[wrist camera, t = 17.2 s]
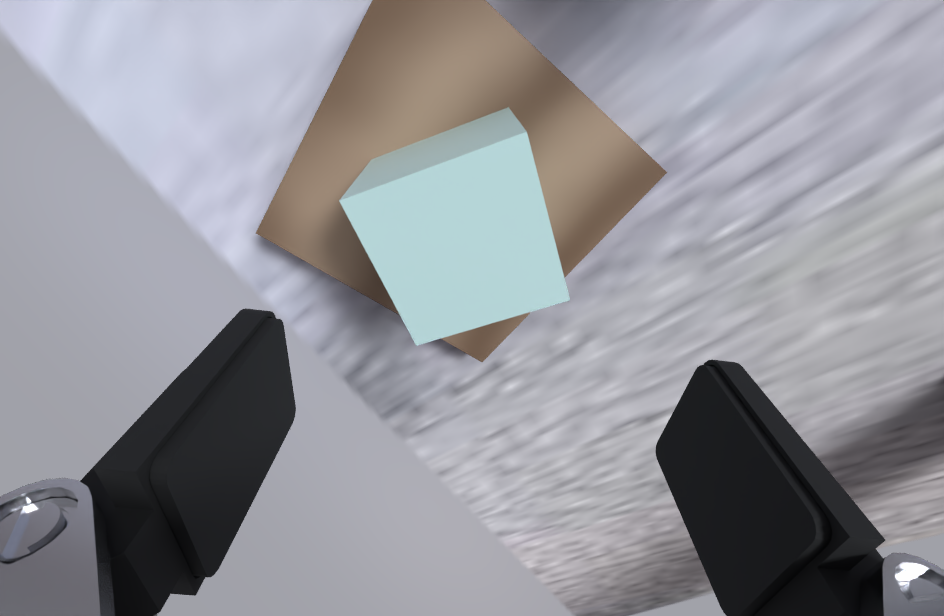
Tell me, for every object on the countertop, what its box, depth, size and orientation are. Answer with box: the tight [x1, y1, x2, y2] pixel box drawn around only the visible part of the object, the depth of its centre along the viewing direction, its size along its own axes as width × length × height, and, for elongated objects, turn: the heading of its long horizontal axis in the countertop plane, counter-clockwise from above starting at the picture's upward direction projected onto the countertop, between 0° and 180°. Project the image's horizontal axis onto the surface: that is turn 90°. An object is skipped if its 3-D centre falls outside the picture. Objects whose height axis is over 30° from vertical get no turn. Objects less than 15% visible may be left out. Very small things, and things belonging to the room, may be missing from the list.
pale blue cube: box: [339, 107, 570, 346], centre depth 17 cm, size 6×6×6 cm
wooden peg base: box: [256, 0, 667, 362], centre depth 19 cm, size 14×14×6 cm
